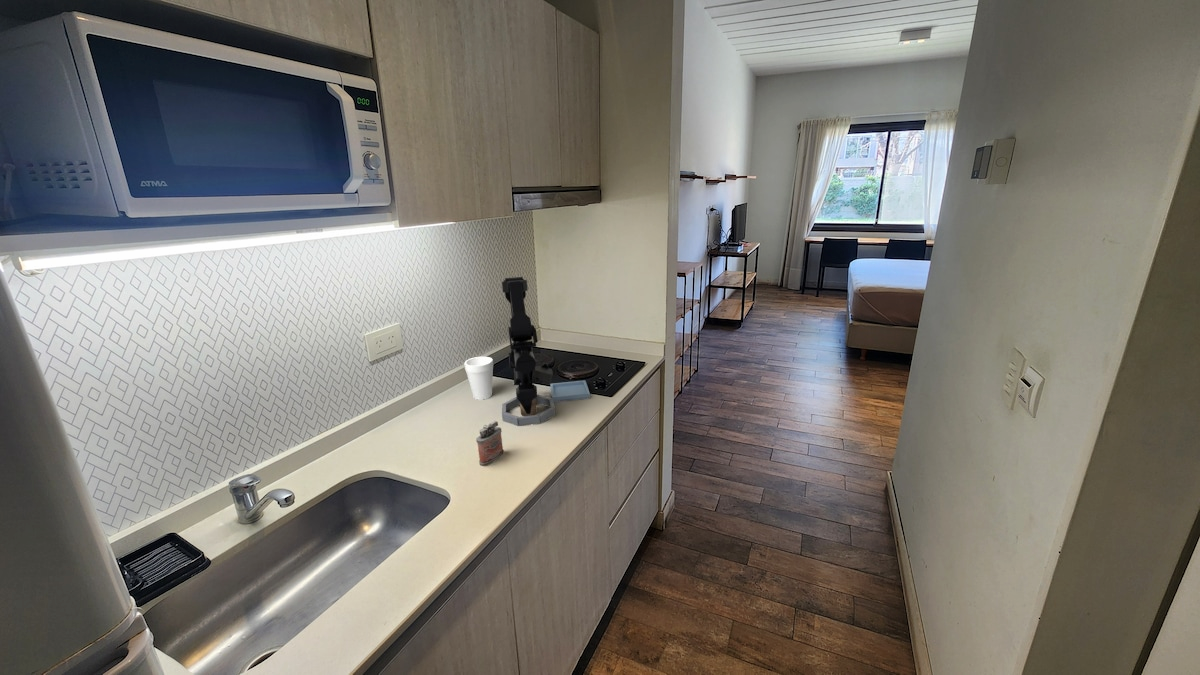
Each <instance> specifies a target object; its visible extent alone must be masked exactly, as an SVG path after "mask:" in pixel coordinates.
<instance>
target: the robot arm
mask: <svg viewBox="0 0 1200 675" xmlns="http://www.w3.org/2000/svg"><path fill="white" fill-rule="evenodd" d="M501 287H502V288H501V290H502V293H504V296H505V297H504V298H505V299H506V300H507V302H508V303H509V305H510V312H511V313H510V315H511V318H510V319H509V323H510V324H509V325H510V326H508V336H509V337H508V338H509V339H508V340H509V350H510V352H508V360H509V369H510V370H511V369H513V373H514V376H513V385H514V386H516V385H517V387H516V388H515V397H516V398H517V399H518V400H519V402H520V403H521V405H522V407H523V408H524V410H525V411H526V413H527V414H530V413H531V406H532V400H533V399H534V398H536V397H537V395H538V387H537V385H535V384H534V383H537V381H539V382H542V383H543V382H544V383H546V384H551V382H552V379H553V375H554V374H553V370H552V368H550V367H549V365H548V363H547V362H542V363H541V365H537V361H536V359H535V354H534V352H533V348H536V347H537V343H538V336H537V328H536V327H535V325H534V324H532V321H531V317H530V316H529V315H527V313H526V306H525V305H526V304H525V301H524V300H525V298H526V296H527V293H526V291H528V288H529V287H528V280H527V279H524V278H523V276H513V277H504V280H503V281H501Z"/></svg>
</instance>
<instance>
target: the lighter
mask: <svg viewBox="0 0 1200 675" xmlns="http://www.w3.org/2000/svg"><path fill="white" fill-rule="evenodd" d="M478 431H479V432H478V433H479V436H477V437H476V440H475V441H476V443H477V448H478V450H477V452H478V457H479V461H478V464H479V466H480V467H487V466H489V465H491V464H493V463H494V462H496V461H498V460H499V459H500V458H501V457H502V456H503V455H504V454H505V451H504V449H503V448H504V447H503V438H502V432H503V431H502V427H500V426H499V421H497V420H494V421H491V422H490V423H489V424H485V425H483V427H482V428H481V429H479V430H478Z"/></svg>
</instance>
